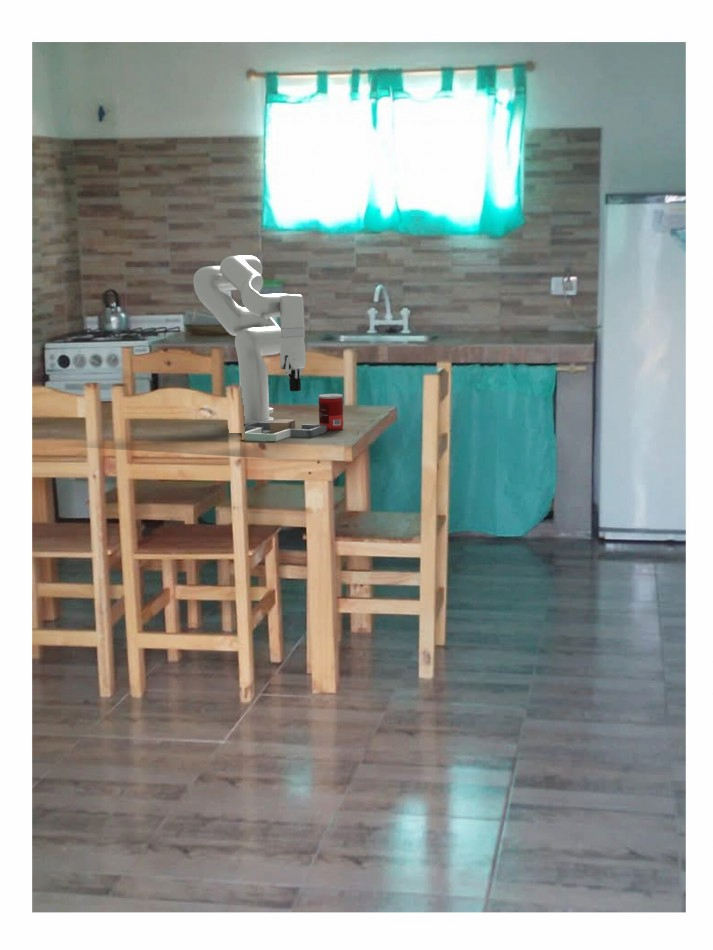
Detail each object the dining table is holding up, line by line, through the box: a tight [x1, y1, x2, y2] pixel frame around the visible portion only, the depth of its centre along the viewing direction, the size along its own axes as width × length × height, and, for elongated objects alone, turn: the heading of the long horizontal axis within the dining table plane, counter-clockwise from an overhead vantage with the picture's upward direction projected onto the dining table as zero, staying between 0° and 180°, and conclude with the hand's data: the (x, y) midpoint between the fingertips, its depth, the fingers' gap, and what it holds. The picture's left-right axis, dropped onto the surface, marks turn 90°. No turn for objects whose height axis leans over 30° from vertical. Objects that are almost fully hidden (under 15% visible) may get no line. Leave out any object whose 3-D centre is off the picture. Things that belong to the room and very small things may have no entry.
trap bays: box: [244, 422, 328, 438], centre depth 395 cm, size 11×25×2 cm, turn 66°
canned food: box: [318, 393, 344, 432], centre depth 401 cm, size 8×8×11 cm
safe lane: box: [245, 428, 292, 442], centre depth 385 cm, size 11×11×2 cm
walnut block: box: [269, 419, 296, 434], centre depth 395 cm, size 7×6×4 cm
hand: (295, 390), depth 401 cm, fingers closed
